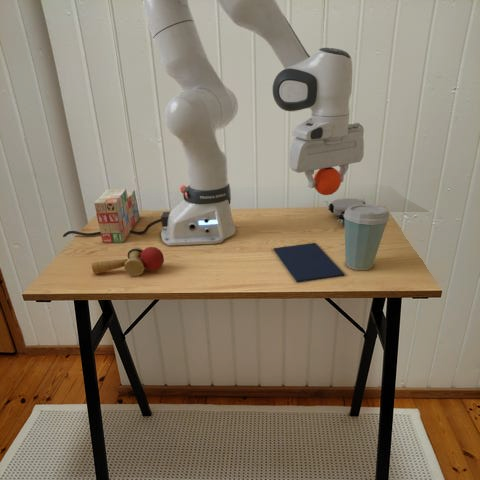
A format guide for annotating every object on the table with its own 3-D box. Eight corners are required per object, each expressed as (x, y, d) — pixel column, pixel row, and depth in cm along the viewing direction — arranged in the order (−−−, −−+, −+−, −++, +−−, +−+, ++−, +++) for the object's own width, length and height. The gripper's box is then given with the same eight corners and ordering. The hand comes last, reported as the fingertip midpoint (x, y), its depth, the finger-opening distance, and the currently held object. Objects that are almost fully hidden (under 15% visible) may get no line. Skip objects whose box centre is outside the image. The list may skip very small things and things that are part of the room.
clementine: (306, 191, 120) (307, 163, 116) (330, 188, 122) (332, 160, 118) (320, 200, 114) (321, 171, 110) (344, 196, 115) (347, 168, 111)
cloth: (297, 282, 108) (297, 280, 108) (273, 249, 125) (273, 248, 124) (344, 275, 110) (344, 274, 110) (315, 244, 127) (315, 242, 126)
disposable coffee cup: (335, 256, 119) (340, 200, 111) (377, 255, 119) (385, 199, 111) (342, 275, 110) (347, 215, 102) (387, 274, 110) (396, 214, 102)
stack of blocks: (121, 217, 151) (114, 180, 145) (140, 217, 151) (133, 180, 144) (102, 243, 133) (93, 202, 127) (123, 242, 133) (115, 201, 126)
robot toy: (375, 229, 136) (361, 209, 148) (378, 215, 134) (363, 195, 146) (335, 231, 136) (324, 211, 148) (337, 217, 133) (325, 198, 145)
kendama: (94, 286, 113) (164, 271, 113) (86, 262, 111) (158, 247, 110) (101, 277, 120) (167, 263, 120) (93, 254, 118) (161, 240, 118)
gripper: (355, 120, 115) (350, 175, 122) (286, 129, 107) (285, 187, 115) (372, 123, 110) (366, 181, 117) (301, 133, 103) (299, 194, 110)
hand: (325, 184), depth 116 cm, fingers closed on clementine, 7 cm apart
